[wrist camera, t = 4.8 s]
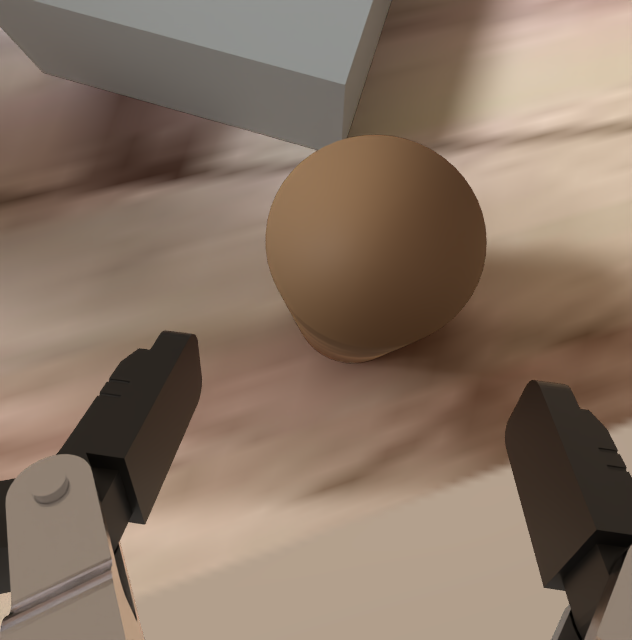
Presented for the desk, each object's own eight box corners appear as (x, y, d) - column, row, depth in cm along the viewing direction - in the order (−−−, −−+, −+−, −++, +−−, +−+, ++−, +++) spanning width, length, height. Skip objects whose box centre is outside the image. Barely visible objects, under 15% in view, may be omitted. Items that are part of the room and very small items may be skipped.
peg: (280, 343, 19) (236, 310, 10) (314, 237, 20) (303, 110, 11) (391, 377, 19) (454, 376, 10) (422, 268, 20) (510, 167, 10)
